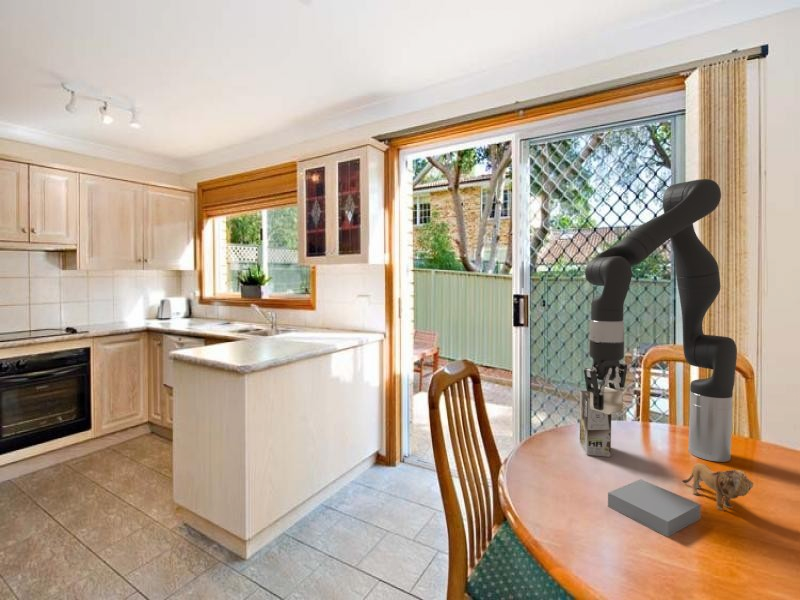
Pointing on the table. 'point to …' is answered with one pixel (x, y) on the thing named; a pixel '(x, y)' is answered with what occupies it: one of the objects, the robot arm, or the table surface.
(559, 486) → the table surface
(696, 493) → the lion figurine
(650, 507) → the base
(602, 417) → the coffee box
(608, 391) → the wooden block
